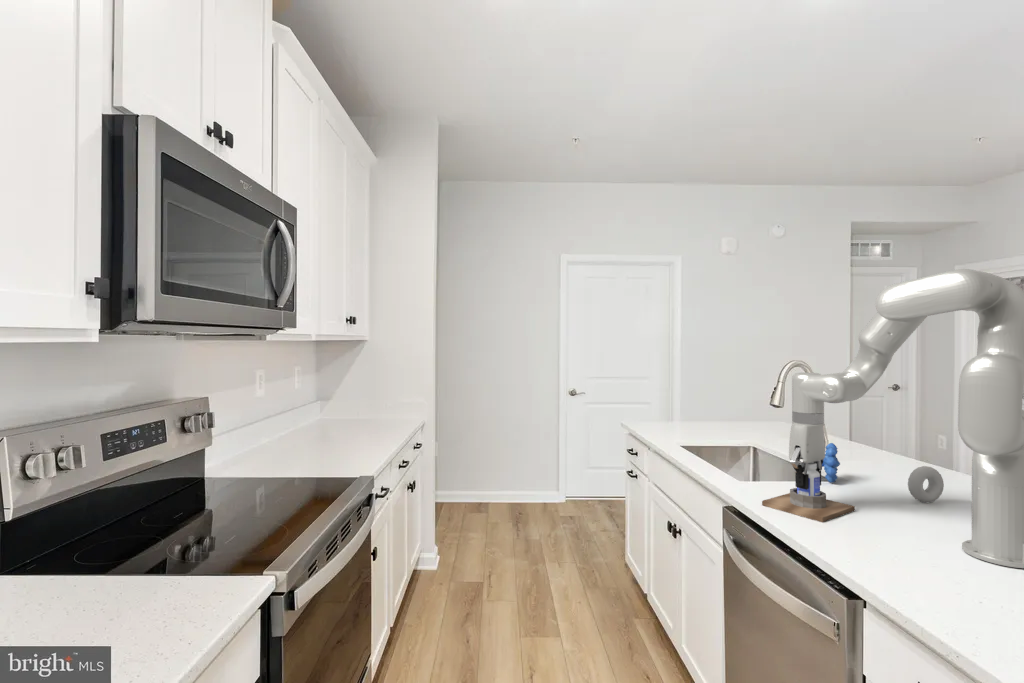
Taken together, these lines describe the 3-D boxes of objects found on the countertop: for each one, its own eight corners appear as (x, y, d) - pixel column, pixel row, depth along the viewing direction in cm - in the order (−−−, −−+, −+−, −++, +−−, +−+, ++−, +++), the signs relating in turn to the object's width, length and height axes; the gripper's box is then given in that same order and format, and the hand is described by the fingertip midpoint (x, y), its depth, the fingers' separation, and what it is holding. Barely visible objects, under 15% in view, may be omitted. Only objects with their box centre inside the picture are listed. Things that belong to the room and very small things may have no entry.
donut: (935, 499, 149) (935, 464, 149) (947, 503, 145) (947, 467, 145) (904, 501, 147) (904, 465, 147) (915, 505, 144) (915, 468, 144)
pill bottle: (815, 496, 144) (815, 460, 144) (823, 502, 139) (823, 465, 139) (793, 495, 145) (793, 460, 145) (801, 501, 139) (801, 464, 139)
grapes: (816, 475, 175) (816, 439, 175) (840, 478, 171) (840, 441, 171) (814, 483, 165) (814, 445, 165) (840, 487, 161) (840, 447, 161)
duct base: (854, 510, 139) (854, 494, 139) (822, 522, 131) (822, 505, 131) (794, 495, 153) (794, 481, 153) (762, 505, 144) (762, 489, 144)
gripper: (811, 414, 149) (811, 478, 149) (776, 419, 140) (776, 488, 140) (839, 417, 143) (839, 484, 143) (804, 423, 134) (804, 495, 134)
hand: (808, 485), depth 142 cm, fingers closed on pill bottle, 5 cm apart
